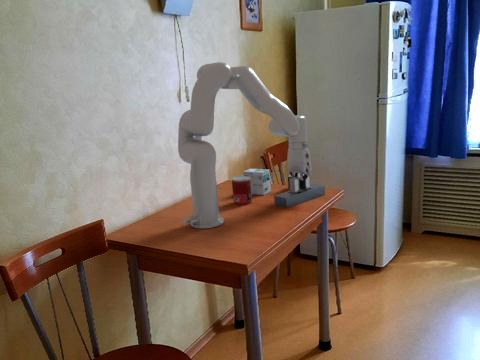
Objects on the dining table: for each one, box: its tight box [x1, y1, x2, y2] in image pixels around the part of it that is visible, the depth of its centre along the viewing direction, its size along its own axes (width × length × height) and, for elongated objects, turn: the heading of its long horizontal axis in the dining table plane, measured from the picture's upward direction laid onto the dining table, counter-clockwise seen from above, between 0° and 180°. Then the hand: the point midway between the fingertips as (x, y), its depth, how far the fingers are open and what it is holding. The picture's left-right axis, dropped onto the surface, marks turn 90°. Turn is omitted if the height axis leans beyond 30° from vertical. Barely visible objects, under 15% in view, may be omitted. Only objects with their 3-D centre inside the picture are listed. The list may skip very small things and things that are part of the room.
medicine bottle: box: [287, 173, 304, 191], centre depth 203 cm, size 7×7×12 cm
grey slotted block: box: [273, 183, 326, 209], centre depth 187 cm, size 24×7×4 cm, turn 130°
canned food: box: [231, 175, 253, 206], centre depth 188 cm, size 8×8×11 cm
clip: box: [289, 175, 311, 194], centre depth 186 cm, size 9×3×8 cm, turn 130°
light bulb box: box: [242, 168, 272, 196], centre depth 202 cm, size 11×7×11 cm, turn 58°
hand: (299, 188), depth 186 cm, fingers closed on clip, 2 cm apart
